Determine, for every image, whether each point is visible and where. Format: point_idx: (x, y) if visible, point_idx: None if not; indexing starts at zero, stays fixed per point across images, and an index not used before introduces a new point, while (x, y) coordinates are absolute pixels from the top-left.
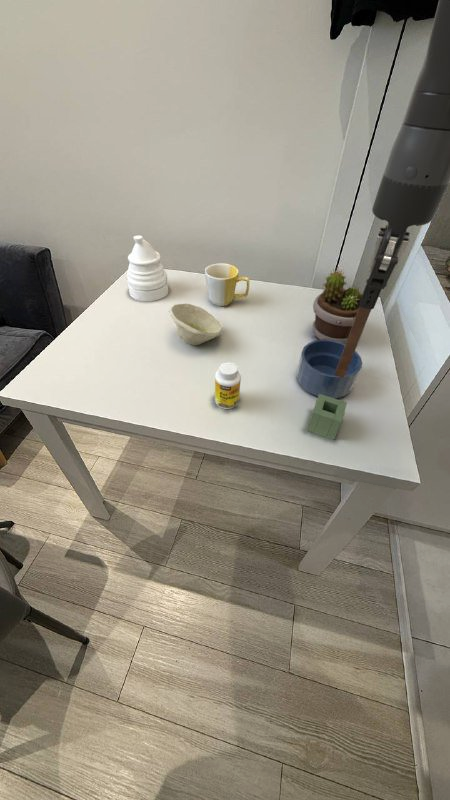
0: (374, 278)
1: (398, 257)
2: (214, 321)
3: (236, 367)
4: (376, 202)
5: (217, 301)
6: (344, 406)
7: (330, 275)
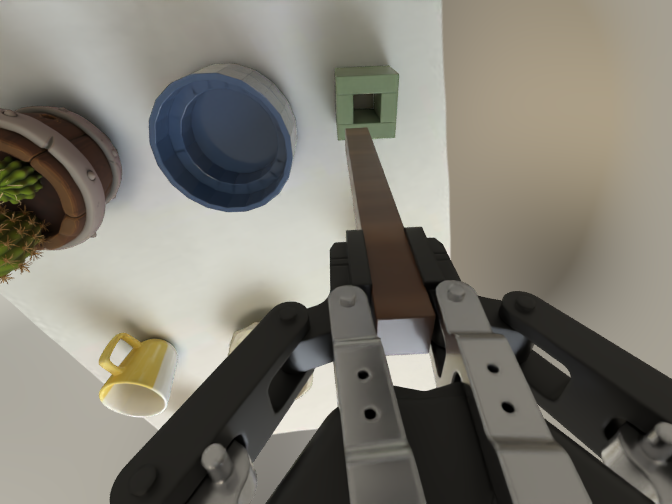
0: (521, 358)
1: (536, 414)
2: (238, 341)
3: None
4: None
5: (175, 355)
6: (351, 79)
7: None
